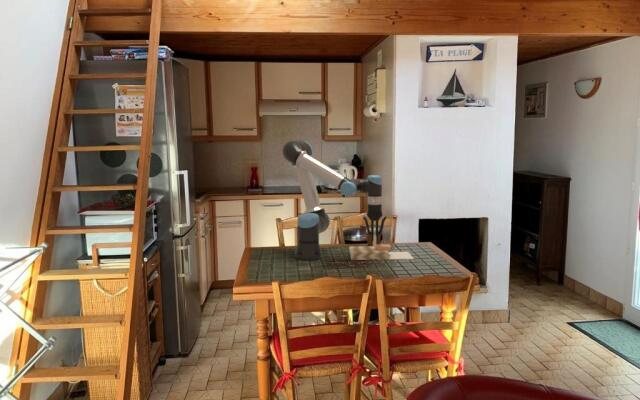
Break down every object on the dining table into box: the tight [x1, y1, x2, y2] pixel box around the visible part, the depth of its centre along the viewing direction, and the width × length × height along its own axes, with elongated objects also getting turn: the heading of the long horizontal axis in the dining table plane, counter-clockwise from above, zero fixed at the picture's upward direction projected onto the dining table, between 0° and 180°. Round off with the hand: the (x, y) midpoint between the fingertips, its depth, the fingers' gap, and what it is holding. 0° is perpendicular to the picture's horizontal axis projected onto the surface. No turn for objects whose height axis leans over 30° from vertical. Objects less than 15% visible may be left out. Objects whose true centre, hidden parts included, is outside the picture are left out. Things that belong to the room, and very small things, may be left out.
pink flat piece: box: [375, 243, 392, 252], centre depth 264 cm, size 8×6×2 cm
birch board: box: [348, 245, 390, 261], centre depth 264 cm, size 20×14×4 cm
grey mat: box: [388, 251, 415, 261], centre depth 265 cm, size 13×15×1 cm
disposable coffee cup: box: [365, 227, 382, 246], centre depth 281 cm, size 10×10×12 cm
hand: (374, 246), depth 264 cm, fingers closed
